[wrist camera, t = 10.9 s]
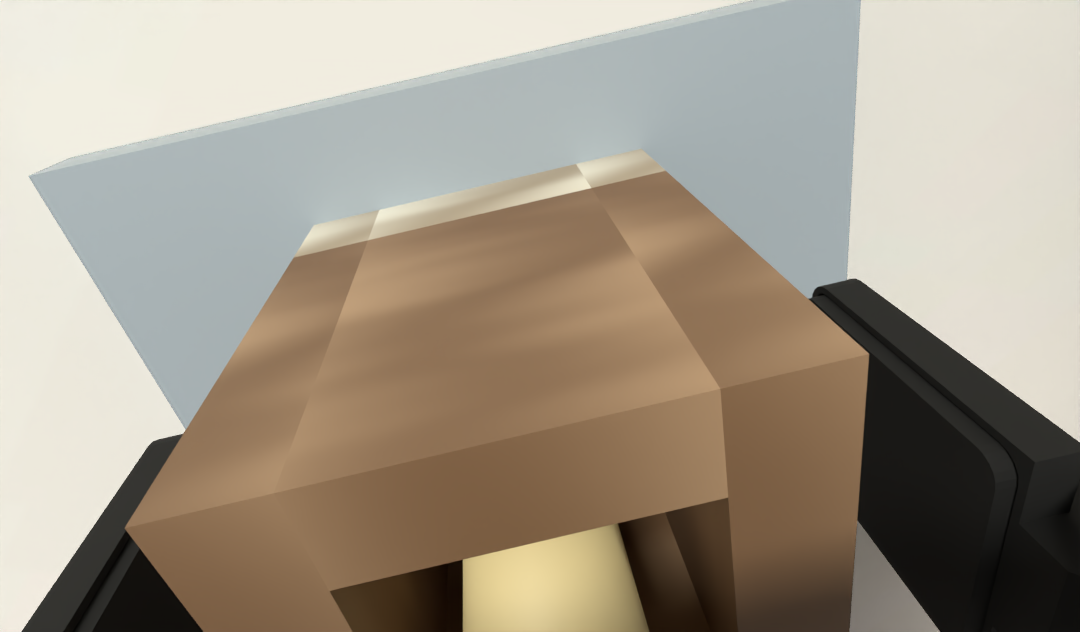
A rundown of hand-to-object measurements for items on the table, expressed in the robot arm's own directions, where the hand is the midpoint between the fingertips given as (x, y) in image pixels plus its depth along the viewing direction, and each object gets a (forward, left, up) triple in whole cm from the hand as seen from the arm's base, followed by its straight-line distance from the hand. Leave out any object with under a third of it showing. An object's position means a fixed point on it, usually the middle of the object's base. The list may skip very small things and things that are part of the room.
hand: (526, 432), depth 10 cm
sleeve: (0, 0, -3) cm, 3 cm away
